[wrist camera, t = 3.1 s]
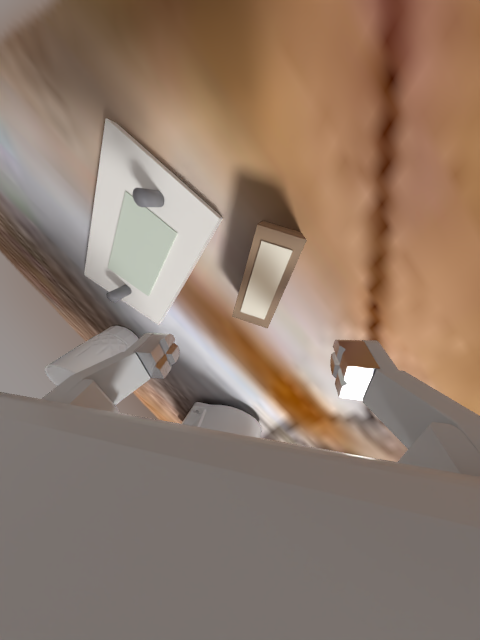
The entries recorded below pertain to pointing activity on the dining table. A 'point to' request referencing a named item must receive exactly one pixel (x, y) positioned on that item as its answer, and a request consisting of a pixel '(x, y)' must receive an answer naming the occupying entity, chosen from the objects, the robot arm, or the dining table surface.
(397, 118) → the dining table surface
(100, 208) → the wall panel
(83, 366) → the pale white cylinder
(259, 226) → the walnut frame
